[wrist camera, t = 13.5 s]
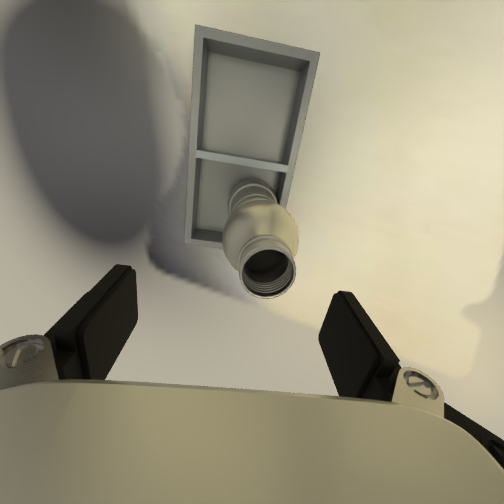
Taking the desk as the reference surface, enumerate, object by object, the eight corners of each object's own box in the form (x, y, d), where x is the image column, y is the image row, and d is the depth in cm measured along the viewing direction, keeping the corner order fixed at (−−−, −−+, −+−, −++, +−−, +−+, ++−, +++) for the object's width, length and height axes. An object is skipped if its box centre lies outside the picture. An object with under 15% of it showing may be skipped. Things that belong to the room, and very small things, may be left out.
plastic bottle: (228, 225, 34) (218, 319, 16) (227, 175, 31) (212, 223, 13) (273, 224, 35) (313, 316, 16) (275, 175, 32) (326, 221, 14)
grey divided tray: (202, 44, 27) (195, 24, 22) (307, 67, 28) (320, 52, 23) (191, 230, 35) (184, 243, 31) (270, 241, 37) (275, 255, 32)
